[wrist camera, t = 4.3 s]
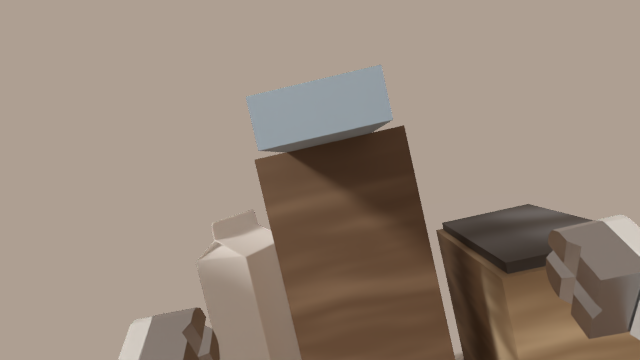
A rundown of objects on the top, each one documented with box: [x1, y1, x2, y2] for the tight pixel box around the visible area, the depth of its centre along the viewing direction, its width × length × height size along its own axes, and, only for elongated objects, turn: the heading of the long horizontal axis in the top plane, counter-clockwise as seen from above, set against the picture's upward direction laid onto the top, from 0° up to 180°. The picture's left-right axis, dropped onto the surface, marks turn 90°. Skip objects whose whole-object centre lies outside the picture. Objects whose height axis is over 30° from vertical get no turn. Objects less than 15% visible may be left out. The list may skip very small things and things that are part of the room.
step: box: [436, 204, 640, 360], centre depth 29 cm, size 14×8×18 cm, turn 178°
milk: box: [196, 210, 302, 360], centre depth 40 cm, size 6×6×22 cm
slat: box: [246, 65, 393, 152], centre depth 25 cm, size 22×4×2 cm, turn 178°
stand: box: [255, 126, 455, 360], centre depth 30 cm, size 14×8×26 cm, turn 178°
